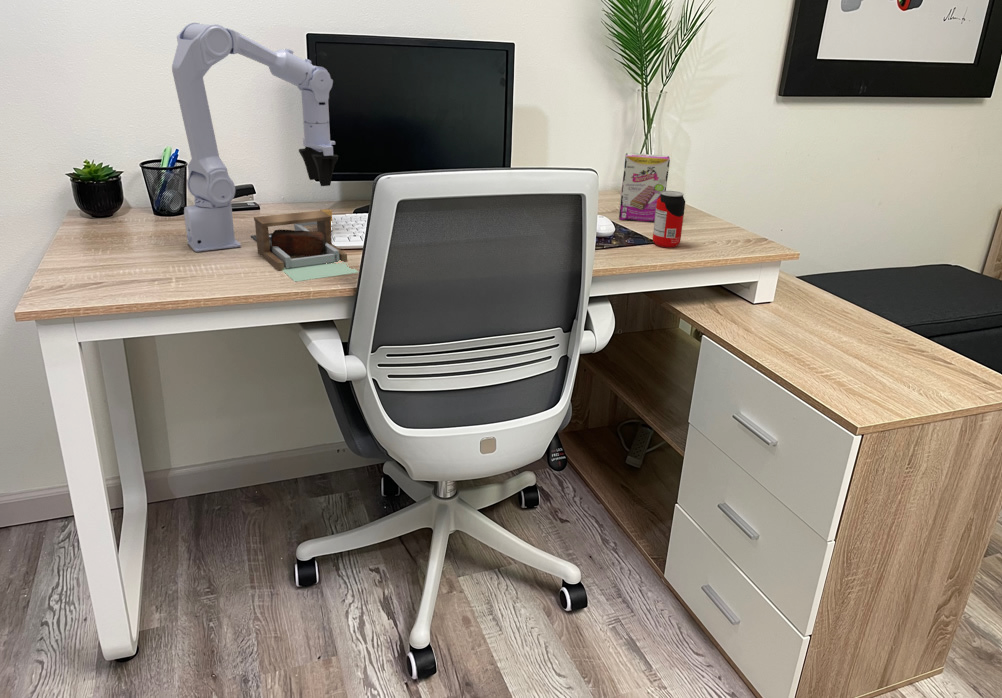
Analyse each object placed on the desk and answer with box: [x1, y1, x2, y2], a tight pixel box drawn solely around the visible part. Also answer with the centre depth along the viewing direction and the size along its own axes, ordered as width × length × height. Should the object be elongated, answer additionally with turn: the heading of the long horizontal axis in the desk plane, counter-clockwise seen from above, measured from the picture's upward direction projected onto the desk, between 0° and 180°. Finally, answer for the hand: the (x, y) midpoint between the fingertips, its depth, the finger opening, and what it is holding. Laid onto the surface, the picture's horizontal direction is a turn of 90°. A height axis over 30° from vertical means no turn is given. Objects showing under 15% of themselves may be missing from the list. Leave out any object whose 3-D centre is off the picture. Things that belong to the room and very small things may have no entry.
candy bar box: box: [618, 152, 671, 223], centre depth 198 cm, size 11×5×16 cm, turn 82°
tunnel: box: [253, 209, 348, 272], centre depth 160 cm, size 14×14×8 cm
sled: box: [269, 208, 339, 268], centre depth 167 cm, size 18×25×5 cm
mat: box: [281, 262, 359, 283], centre depth 154 cm, size 13×10×1 cm
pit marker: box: [250, 232, 273, 243], centre depth 174 cm, size 8×6×1 cm
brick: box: [271, 229, 326, 257], centre depth 162 cm, size 11×4×5 cm, turn 92°
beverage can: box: [652, 190, 686, 249], centre depth 177 cm, size 6×6×12 cm
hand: (319, 182), depth 181 cm, fingers open, 7 cm apart
